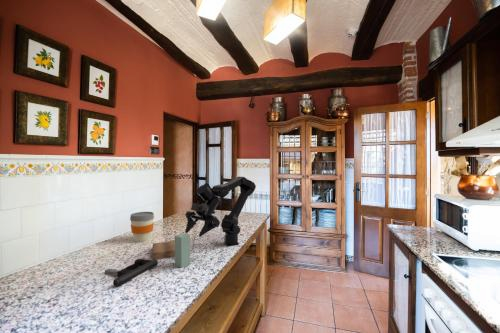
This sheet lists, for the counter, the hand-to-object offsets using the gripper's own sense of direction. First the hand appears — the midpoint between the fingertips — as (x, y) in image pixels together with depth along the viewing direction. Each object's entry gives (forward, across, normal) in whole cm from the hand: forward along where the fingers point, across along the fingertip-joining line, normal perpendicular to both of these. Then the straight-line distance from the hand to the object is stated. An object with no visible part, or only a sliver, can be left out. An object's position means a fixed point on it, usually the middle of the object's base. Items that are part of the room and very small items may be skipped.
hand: (192, 234), depth 109 cm
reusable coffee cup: (+7, -46, +10) cm, 47 cm away
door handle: (+25, -12, -8) cm, 29 cm away
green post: (+12, 0, +4) cm, 13 cm away
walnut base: (+9, -18, +8) cm, 21 cm away
